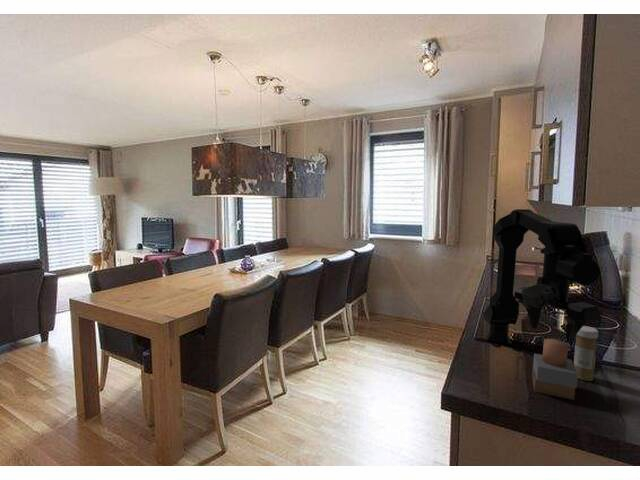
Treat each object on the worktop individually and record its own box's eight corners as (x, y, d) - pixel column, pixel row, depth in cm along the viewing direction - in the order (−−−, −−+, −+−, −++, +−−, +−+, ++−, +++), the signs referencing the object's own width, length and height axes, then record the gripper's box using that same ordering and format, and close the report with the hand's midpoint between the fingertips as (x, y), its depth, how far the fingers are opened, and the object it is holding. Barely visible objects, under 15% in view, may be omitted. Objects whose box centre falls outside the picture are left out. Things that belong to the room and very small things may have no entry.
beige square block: (531, 378, 93) (532, 365, 93) (568, 385, 90) (569, 372, 89) (534, 392, 86) (535, 379, 86) (573, 401, 83) (575, 387, 82)
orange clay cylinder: (564, 359, 89) (566, 341, 88) (567, 368, 84) (570, 348, 84) (541, 355, 91) (542, 337, 90) (543, 363, 86) (545, 344, 86)
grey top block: (533, 366, 93) (534, 353, 92) (569, 372, 89) (570, 359, 89) (536, 380, 86) (538, 366, 85) (576, 388, 82) (578, 373, 82)
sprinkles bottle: (596, 378, 92) (601, 329, 91) (588, 383, 90) (593, 333, 88) (576, 371, 96) (581, 323, 95) (568, 375, 94) (573, 327, 92)
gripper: (500, 268, 93) (496, 325, 95) (569, 286, 75) (562, 355, 77) (532, 266, 96) (527, 320, 98) (605, 282, 79) (598, 348, 81)
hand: (550, 335), depth 89 cm, fingers open, 9 cm apart
